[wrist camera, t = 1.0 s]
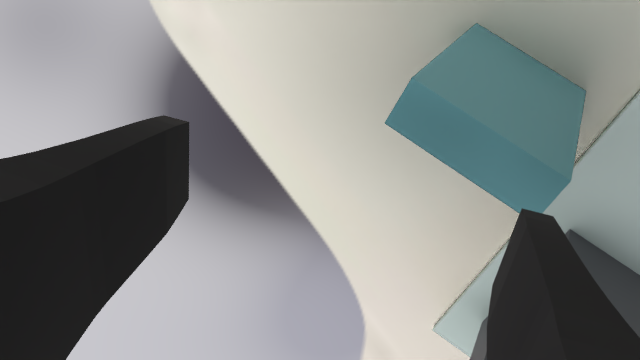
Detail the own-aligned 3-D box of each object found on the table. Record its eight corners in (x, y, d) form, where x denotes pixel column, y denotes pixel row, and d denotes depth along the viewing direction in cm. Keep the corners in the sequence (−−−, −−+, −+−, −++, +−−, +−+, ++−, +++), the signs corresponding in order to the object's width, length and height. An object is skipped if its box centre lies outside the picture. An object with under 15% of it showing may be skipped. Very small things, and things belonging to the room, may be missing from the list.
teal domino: (476, 23, 24) (411, 77, 16) (586, 91, 23) (571, 180, 15) (455, 56, 24) (384, 123, 17) (559, 123, 24) (534, 222, 16)
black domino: (569, 228, 25) (549, 366, 17) (676, 299, 24) (703, 475, 17) (546, 253, 26) (517, 395, 18) (648, 322, 25) (662, 499, 18)
